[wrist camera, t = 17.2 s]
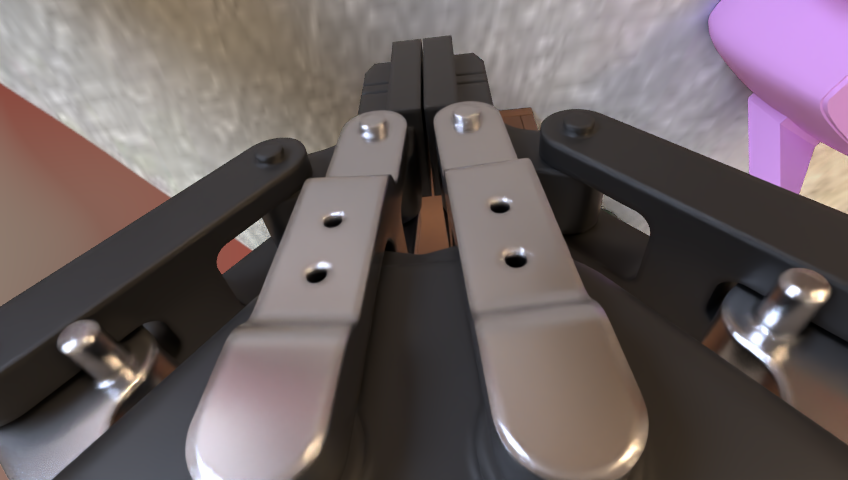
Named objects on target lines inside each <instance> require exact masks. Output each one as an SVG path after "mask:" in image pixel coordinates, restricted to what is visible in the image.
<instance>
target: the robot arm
mask: <svg viewBox="0 0 848 480" xmlns="http://www.w3.org/2000/svg"><path fill="white" fill-rule="evenodd" d="M363 85H364V86H363V89H362V95H361V100H360V105H359V111H358V116H356V117H354V118H352V119H351V120H349V121H348V122H347V123H346V124H345V125H344V126H343V128H342V130H341V133H340V136H339V139H338V142H337V144H336V145H335V146H333V147H331V148H328V149H325V150H321V151H318V152H315V153H311V154H308V155H307V152H306V149H305V146H304V145H303V144H302V143H301V142H300V141H298V140H296V139H292V138H275V139H270V140H266V141H263V142H261V143H258V144H256V145H254V146H252V147H251V148H249V149H248V150H246V151H244V152H243V153H241V154H240V155H238V156H237V157H235V158H233V159H232V160H230V161H229V162H227V163H226V164H224V165H222V166H221V167H219V168H218V169H216V170H214V171H213V172H211V173H210V174H208V175H207V176H205V177H203V178H202V179H200V180H199V181H197V182H196V183H194V184H192V185H191V186H189V187H188V188H186V189H185V190H183V191H181V192H180V193H178V194H177V195H175V196H174V197H172V198H170V199H169V200H167V201H166V202H164V203H163V204H161V205H160V206H158V207H156V208H155V209H153V210H152V211H150V212H148V213H147V214H145V215H144V216H142V217H140V218H139V219H137V220H136V221H134V222H133V223H131V224H130V225H128V226H126V227H125V228H123V229H122V230H120V231H118V232H117V233H115V234H114V235H112V236H111V237H109V238H108V239H106V240H104V241H103V242H101V243H100V244H98V245H96V246H95V247H93V248H92V249H90V250H89V251H87V252H85V253H84V254H82V255H81V256H79V257H77V258H76V259H74V260H73V261H71V262H70V263H68V264H66V265H65V266H63V267H62V268H60V269H59V270H57V271H55V272H54V273H52V274H51V275H49V276H48V277H46V278H44V279H43V280H41V281H40V282H38V283H37V284H35V285H34V286H32V287H30V288H29V289H27V290H26V291H24V292H23V293H21V294H19V295H18V296H16V297H14V298H13V299H11V300H10V301H8V302H7V303H5V304H3V305H2V306H0V464H1V466H2V468H3V469H4V471H5V473H6V475H7V477H8V478H9V480H848V214H846V213H843V212H841V211H838V210H836V209H833V208H831V207H828V206H826V205H823V204H821V203H819V202H816V201H814V200H811V199H809V198H806V197H804V196H801V195H799V194H797V193H794V192H792V191H789V190H787V189H784V188H782V187H779V186H777V185H774V184H772V183H770V182H767V181H765V180H762V179H760V178H757V177H755V176H752V175H750V174H748V173H745V172H743V171H740V170H738V169H735V168H733V167H730V166H728V165H725V164H723V163H721V162H718V161H716V160H713V159H711V158H708V157H706V156H703V155H701V154H699V153H696V152H694V151H691V150H689V149H686V148H684V147H681V146H679V145H676V144H674V143H672V142H669V141H667V140H664V139H662V138H659V137H657V136H654V135H652V134H650V133H647V132H645V131H642V130H640V129H637V128H635V127H632V126H630V125H627V124H625V123H623V122H620V121H618V120H615V119H613V118H610V117H608V116H605V115H603V114H600V113H598V112H594V111H590V110H582V109H571V110H564V111H559V112H556V113H554V114H552V115H550V116H548V117H547V118H546V119H545V120H544V121H543V122H542V124H541V129H540V131H538V130H527V129H520V128H516V127H513V126H510V125H508V124H505V123H504V122H503V119H502V117H501V114H500V112H499V111H498V110H497V109H496V108H495V107H494V106H493V102H492V98H491V93H490V88H489V84H488V79H487V75H486V70H485V65H484V61H483V60H482V59H480V58H479V57H478V56H477V55H475V54H474V53H468V54H459V55H453V46H452V37H451V35H450V36H441V37H433V38H424V39H423V49H422V42H421V39H416V40H407V41H398V42H393V45H392V54H391V62H387V63H378V64H374V65H373V66H372V67H371V69H370V70H369V71H368V72H367V73H366V74H365V78H364V84H363ZM431 170H432V179H433V187H434V195H435V196H439V195H441V196H442V205H443V215H444V223H445V229H446V235H447V241H448V247H449V248H445V249H441V250H438V251H434V252H431V253H427V254H418V253H419V244H420V234H421V225H422V219H421V212H420V210H421V207H422V197H429V196H432V185H431ZM603 194H605V195H606V196H608V197H610V198H612V199H614V200H616V201H618V202H620V203H622V204H623V205H625V206H627V207H629V208H631V209H633V210H635V211H637V212H638V213H639V214H641V215H642V216H643V217H644V218H645V220H646V221H647V223H648V225H649V227H650V236H648V235H646V234H645V233H643V232H641V231H639V230H637V229H636V228H634V227H632V226H630V225H628V224H627V223H625V222H623V221H621V220H619V219H618V218H616V217H614V216H612V215H610V214H609V213H607V212H605V211H603V210H601V209H600V207H601V202H602V197H603ZM261 218H262V219H263V221H264V223H265V225H266V227H267V229H268V231H269V233H270V235H271V237H270V238H269V239H267V240H266V241H265V242H263V243H262V244H261V245H260V246H258V247H257V248H256V249H254V250H253V251H252V252H251V253H249V254H248V255H247V256H245V257H244V258H243V259H242V260H240V261H239V262H238V263H236V264H235V265H234V266H233V267H231V268H230V269H229V270H228V271H226V272H225V273H224V274H221V273H220V271H219V270H218V268H217V263H216V261H217V256H218V253H219V252H220V250H221V249H222V248H223V246H225V245H226V244H227V243H228V242H230V241H231V240H232V239H234V238H235V237H236V236H238V235H239V234H240V233H242V232H243V231H244V230H246V229H247V228H248V227H250V226H251V225H252V224H254V223H255V222H257V221H258V220H259V219H261Z"/></svg>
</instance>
